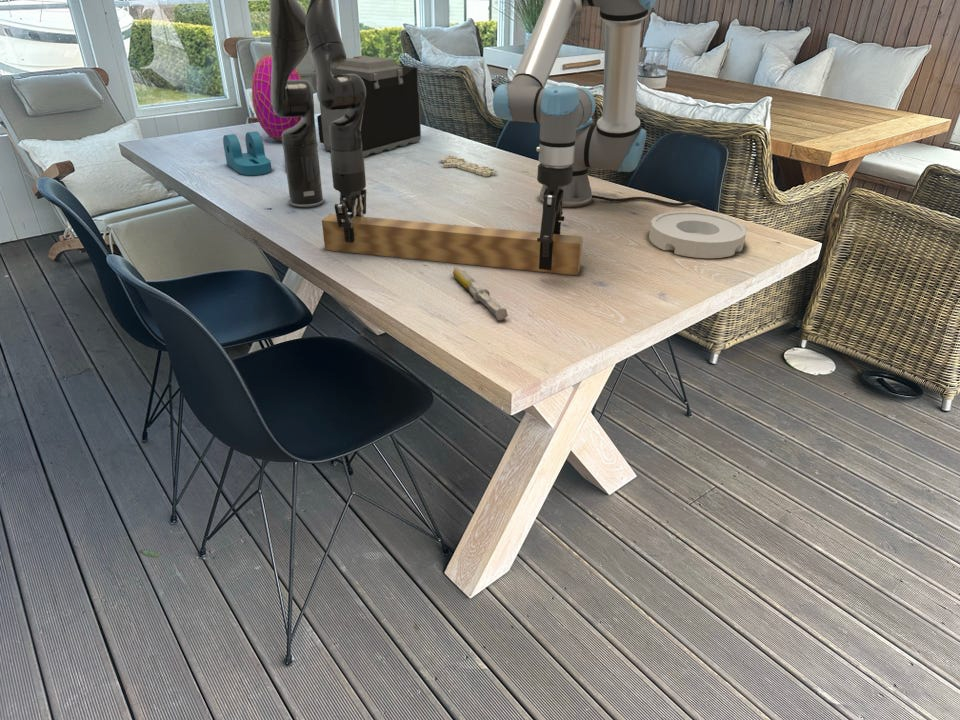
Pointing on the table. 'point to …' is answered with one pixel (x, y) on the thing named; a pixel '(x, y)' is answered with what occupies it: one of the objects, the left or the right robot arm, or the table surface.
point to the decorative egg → (269, 100)
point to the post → (453, 244)
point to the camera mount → (246, 154)
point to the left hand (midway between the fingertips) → (354, 237)
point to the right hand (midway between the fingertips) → (549, 258)
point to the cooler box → (380, 104)
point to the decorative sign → (467, 166)
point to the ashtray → (697, 234)
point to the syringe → (479, 293)
